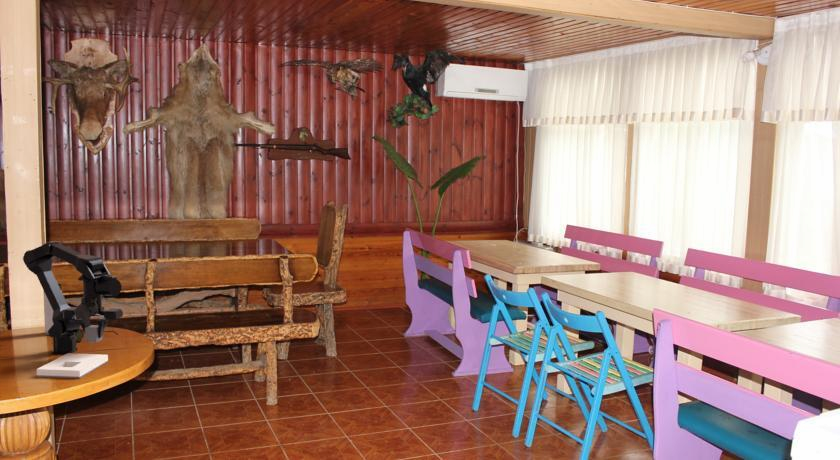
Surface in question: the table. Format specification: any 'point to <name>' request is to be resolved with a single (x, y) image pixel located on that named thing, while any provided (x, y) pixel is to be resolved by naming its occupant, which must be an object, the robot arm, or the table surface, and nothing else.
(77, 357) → the socket plate
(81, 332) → the sunglasses
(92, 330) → the block
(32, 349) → the table surface
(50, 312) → the travel mug
